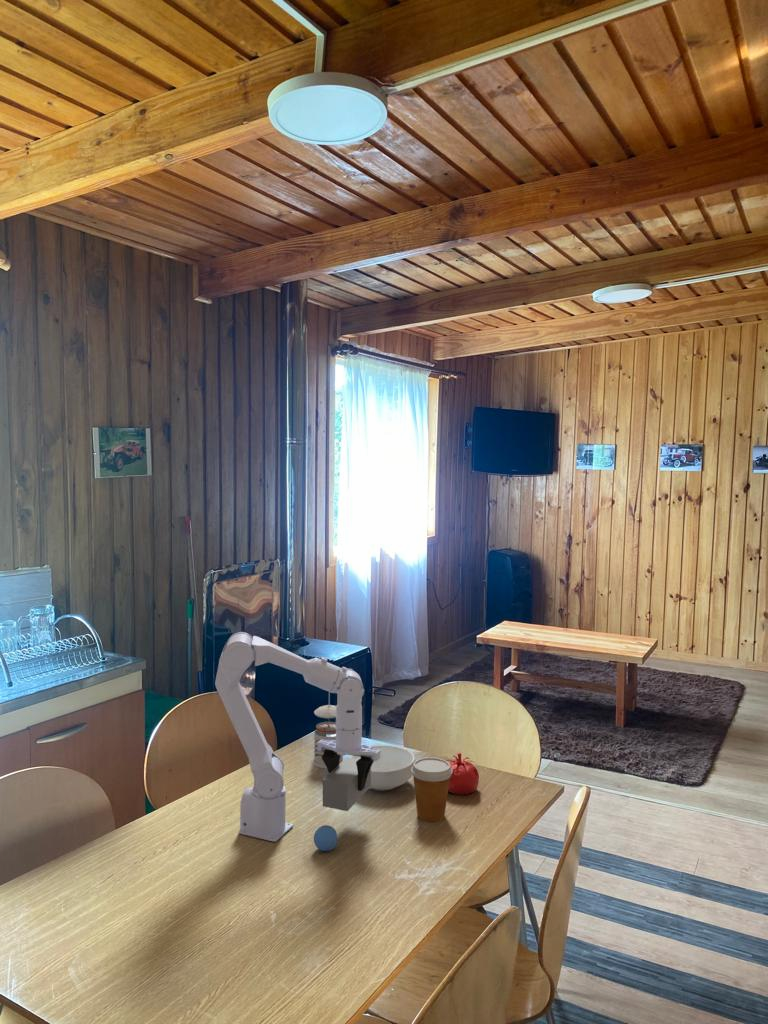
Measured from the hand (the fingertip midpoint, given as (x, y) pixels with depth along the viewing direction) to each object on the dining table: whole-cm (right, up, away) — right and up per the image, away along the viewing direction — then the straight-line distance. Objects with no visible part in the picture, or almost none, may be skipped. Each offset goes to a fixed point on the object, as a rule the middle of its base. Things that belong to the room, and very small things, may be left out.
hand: (348, 786), depth 166 cm
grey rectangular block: (0, -2, 0) cm, 2 cm away
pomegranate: (+27, -9, +21) cm, 35 cm away
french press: (-6, -7, +37) cm, 38 cm away
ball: (-4, -7, -9) cm, 13 cm away
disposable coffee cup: (+19, -10, +7) cm, 22 cm away
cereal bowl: (+7, -8, +24) cm, 26 cm away
